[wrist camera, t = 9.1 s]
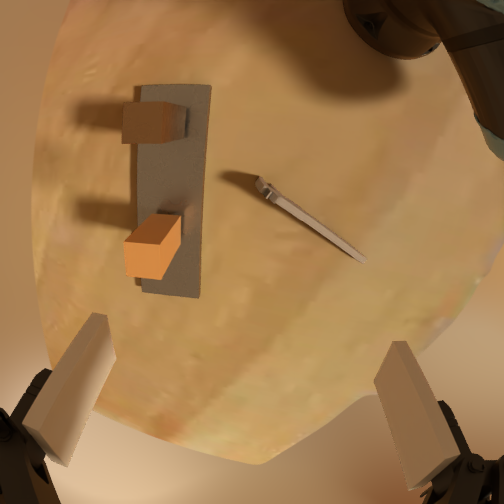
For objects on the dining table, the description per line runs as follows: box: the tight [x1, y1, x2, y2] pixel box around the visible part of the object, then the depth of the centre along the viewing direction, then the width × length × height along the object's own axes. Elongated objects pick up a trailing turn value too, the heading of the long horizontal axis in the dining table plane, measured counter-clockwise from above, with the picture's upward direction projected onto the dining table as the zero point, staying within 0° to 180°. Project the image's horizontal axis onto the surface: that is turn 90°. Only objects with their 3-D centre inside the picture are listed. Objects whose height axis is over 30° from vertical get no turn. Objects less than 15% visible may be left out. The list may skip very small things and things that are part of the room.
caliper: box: [255, 176, 367, 264], centre depth 39 cm, size 20×1×6 cm, turn 54°
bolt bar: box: [122, 85, 212, 298], centre depth 35 cm, size 9×30×13 cm, turn 175°
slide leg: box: [124, 214, 181, 280], centre depth 35 cm, size 4×4×11 cm
